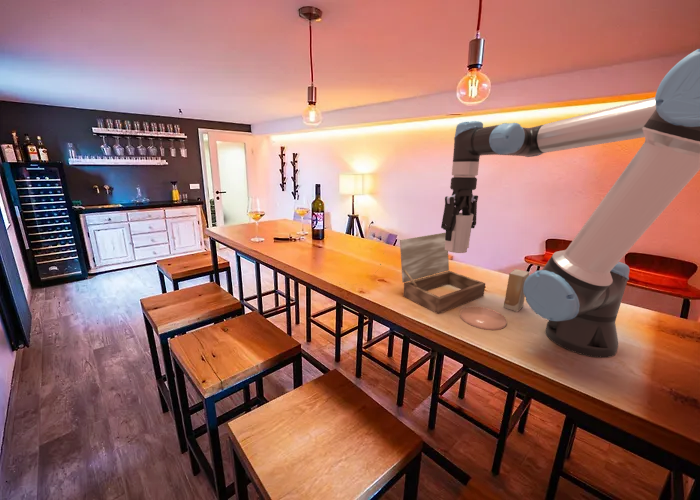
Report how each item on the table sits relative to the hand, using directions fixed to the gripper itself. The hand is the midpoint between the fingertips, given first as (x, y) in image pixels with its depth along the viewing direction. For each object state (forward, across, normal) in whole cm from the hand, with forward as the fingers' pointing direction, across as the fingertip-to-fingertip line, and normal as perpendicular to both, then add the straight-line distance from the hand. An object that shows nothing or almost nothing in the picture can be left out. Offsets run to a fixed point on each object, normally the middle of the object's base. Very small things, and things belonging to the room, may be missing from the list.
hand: (456, 248), depth 96 cm
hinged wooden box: (+18, -1, -6) cm, 19 cm away
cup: (+1, 0, 0) cm, 1 cm away
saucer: (+19, +2, +13) cm, 23 cm away
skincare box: (+19, -14, +14) cm, 27 cm away
